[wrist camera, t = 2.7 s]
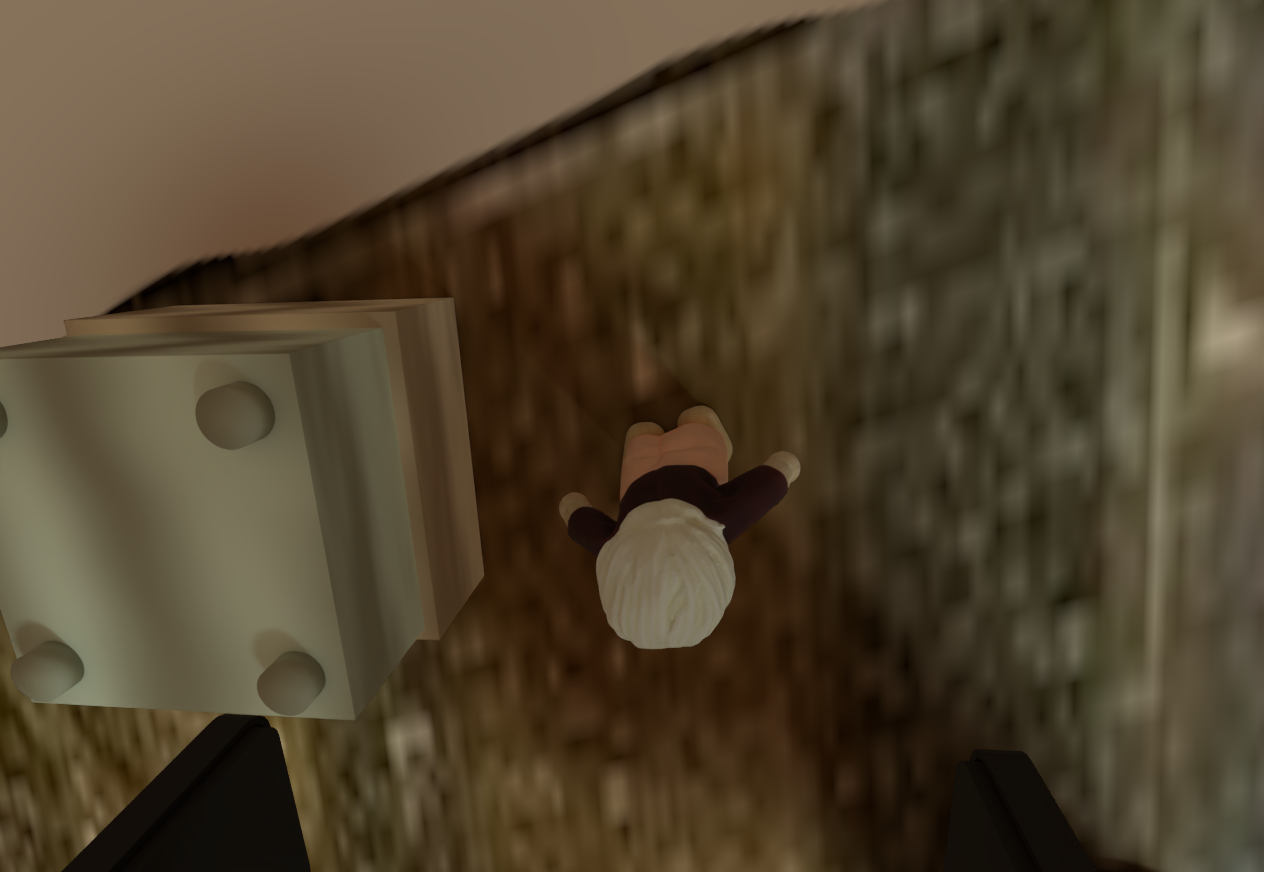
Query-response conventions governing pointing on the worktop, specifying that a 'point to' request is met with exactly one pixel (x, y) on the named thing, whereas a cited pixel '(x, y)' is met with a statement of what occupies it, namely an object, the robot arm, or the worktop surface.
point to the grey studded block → (234, 504)
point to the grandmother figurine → (674, 529)
